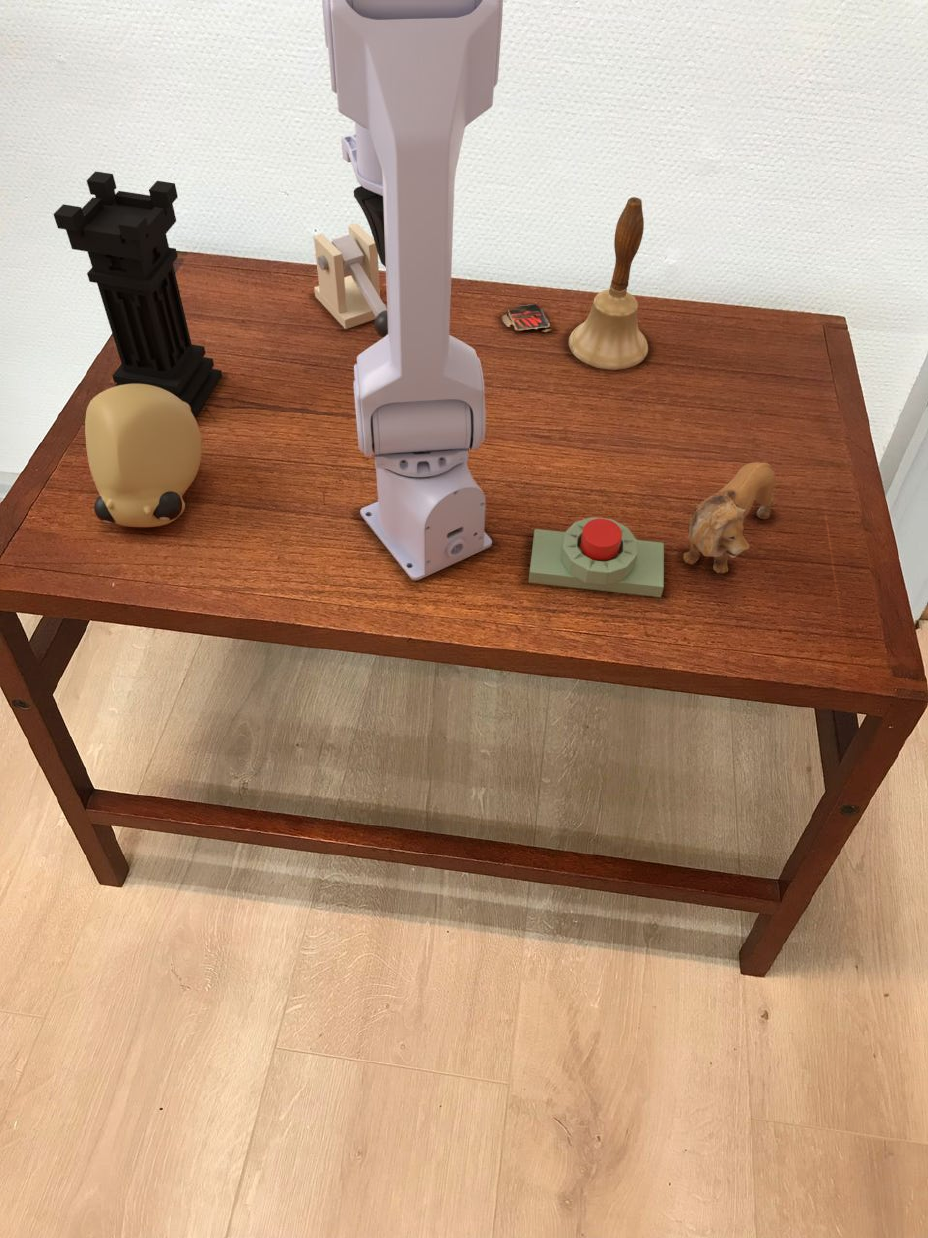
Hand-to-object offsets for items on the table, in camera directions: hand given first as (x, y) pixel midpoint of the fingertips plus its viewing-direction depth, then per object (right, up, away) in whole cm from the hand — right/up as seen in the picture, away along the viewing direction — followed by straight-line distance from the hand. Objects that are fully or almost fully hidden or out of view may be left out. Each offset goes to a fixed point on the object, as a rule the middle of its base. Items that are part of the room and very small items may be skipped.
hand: (393, 263), depth 93 cm
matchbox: (+13, -2, +11) cm, 18 cm away
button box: (+18, -29, -10) cm, 36 cm away
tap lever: (-4, -1, +8) cm, 9 cm away
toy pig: (-21, -23, -6) cm, 31 cm away
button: (+18, -28, -12) cm, 35 cm away
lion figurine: (+29, -28, -8) cm, 41 cm away
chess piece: (-22, -12, +3) cm, 25 cm away
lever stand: (-6, 0, +12) cm, 14 cm away
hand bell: (+22, -5, +9) cm, 24 cm away
